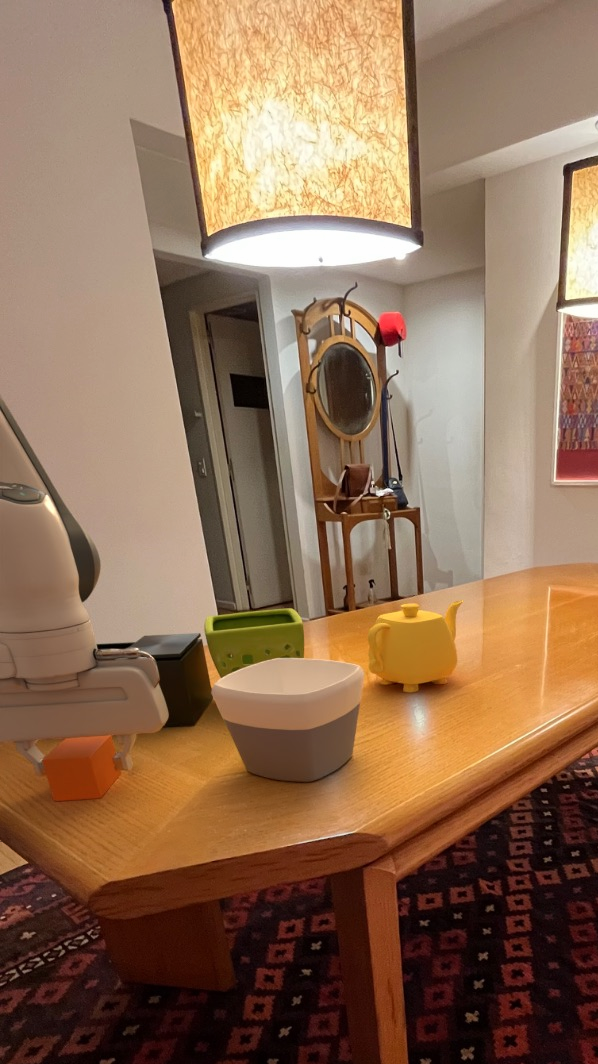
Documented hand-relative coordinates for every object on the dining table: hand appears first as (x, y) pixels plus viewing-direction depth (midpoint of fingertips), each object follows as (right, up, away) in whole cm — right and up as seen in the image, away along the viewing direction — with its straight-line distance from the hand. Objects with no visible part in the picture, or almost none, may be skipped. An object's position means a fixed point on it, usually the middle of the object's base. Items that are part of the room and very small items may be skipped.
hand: (86, 771), depth 77 cm
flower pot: (+13, +12, +29) cm, 34 cm away
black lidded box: (-4, +10, +24) cm, 26 cm away
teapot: (+37, +17, +37) cm, 55 cm away
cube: (0, -2, +1) cm, 2 cm away
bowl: (+23, +1, +6) cm, 24 cm away
